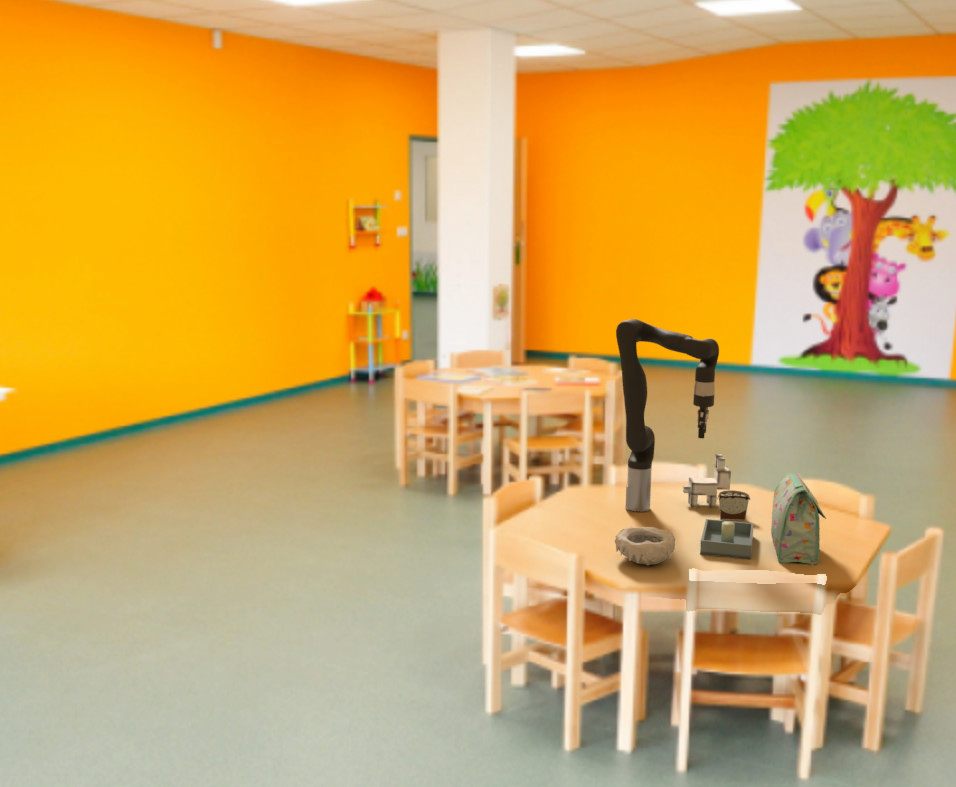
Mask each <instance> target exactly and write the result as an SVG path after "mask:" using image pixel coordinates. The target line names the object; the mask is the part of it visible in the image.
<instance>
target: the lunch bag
mask: <svg viewBox="0 0 956 787" xmlns="http://www.w3.org/2000/svg"><path fill="white" fill-rule="evenodd" d="M819 505H820V504H819V502H818V499H817V498H816V497H815V495H814V494H813V493H812V491H811V490H810V488H809V487H808V486H807V484H806V483H805V481H804V480H803V479H802V477H800V476H799V475H798V474H797V473H796V472H790V473H787V474H786V475H785V476H784V477H783V478H782V479H781V480H780V481H779V482H778V484H777V485H776V486H775V489H774V492H773V498H772V512H771V526H770V527H771V528H770V535H771V538H772V544H773V547H774V549H775V553H776V557H777V561H778V563H783V564H785V563H789V564H790V563H797V562H799V563H801V564H808V565H812V564H813V565H817V564H818V563H819V557H820V540H821V539H820V536H821V534H820V516H821V517H822V518H824V519H825V520H826V519H827V517H826V516H825V514H824V513H823V511H822V509H821V508H820V506H819ZM813 565H812V566H813Z"/></svg>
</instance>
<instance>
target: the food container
mask: <svg viewBox="0 0 956 787" xmlns="http://www.w3.org/2000/svg"><path fill="white" fill-rule="evenodd" d="M717 500H718V501H719V502H718V503H719V520H724V521H746V517H747V513H748V512H747V511H748V507H749V506H748V505H749V501H751V497H750V494H749V493H747V492H745V491H741V490H731V489H730V490H723V491H720V492H719V493H718V494H717Z"/></svg>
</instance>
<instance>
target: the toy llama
mask: <svg viewBox="0 0 956 787" xmlns="http://www.w3.org/2000/svg"><path fill="white" fill-rule="evenodd" d="M723 456H724V455H723V454H721V453H715V454H714V471H713V477H688V485H686V484H684V485H682V486H683V487H682V489H683V490H682V492H683V494H687V503H688V504H689V507H690V508H698V500H699V499H698V498H699V496H706V503H707V504H708V507H709V508H717V503H718V502H717V500H718V499H717V498H718V491H719V490H723V491H728V490H731V478H732V471H731V470H730V468H729V467H728V466H726V458H725V457H723Z"/></svg>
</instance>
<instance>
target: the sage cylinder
mask: <svg viewBox="0 0 956 787" xmlns="http://www.w3.org/2000/svg"><path fill="white" fill-rule="evenodd" d="M725 521H726V522H722V533H721V542H727V543H734V529H735V524H734V523H733V522H729V521H730V520H725Z"/></svg>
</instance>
